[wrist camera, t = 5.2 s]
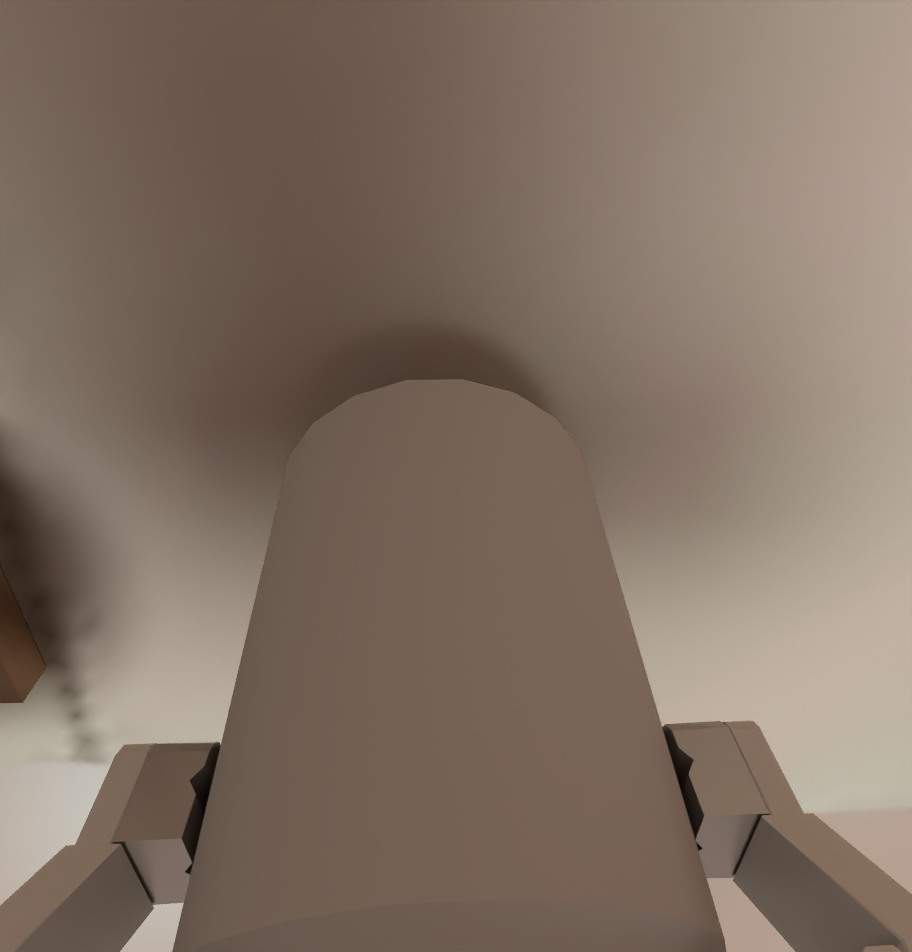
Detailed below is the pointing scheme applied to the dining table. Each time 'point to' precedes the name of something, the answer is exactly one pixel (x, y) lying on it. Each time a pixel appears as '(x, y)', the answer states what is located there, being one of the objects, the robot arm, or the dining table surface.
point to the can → (443, 707)
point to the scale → (16, 650)
